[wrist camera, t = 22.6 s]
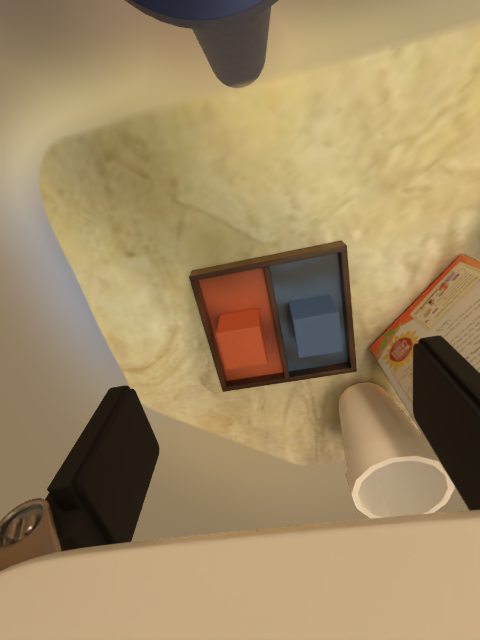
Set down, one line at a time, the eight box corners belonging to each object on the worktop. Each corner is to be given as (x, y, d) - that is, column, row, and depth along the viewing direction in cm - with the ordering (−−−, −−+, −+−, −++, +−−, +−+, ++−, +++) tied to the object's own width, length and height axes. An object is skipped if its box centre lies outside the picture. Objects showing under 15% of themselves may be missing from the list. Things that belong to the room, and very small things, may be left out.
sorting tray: (191, 270, 37) (188, 276, 35) (341, 240, 35) (346, 245, 33) (224, 382, 43) (222, 392, 42) (352, 362, 41) (356, 371, 39)
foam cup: (402, 368, 41) (460, 452, 30) (399, 425, 45) (449, 519, 34) (324, 376, 42) (350, 461, 31) (327, 431, 46) (352, 525, 35)
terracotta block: (219, 314, 38) (215, 333, 34) (258, 307, 38) (259, 326, 34) (228, 348, 40) (226, 369, 36) (266, 341, 40) (267, 363, 36)
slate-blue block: (288, 302, 37) (292, 320, 33) (329, 295, 37) (338, 312, 33) (294, 337, 39) (299, 358, 35) (333, 330, 39) (342, 351, 35)
